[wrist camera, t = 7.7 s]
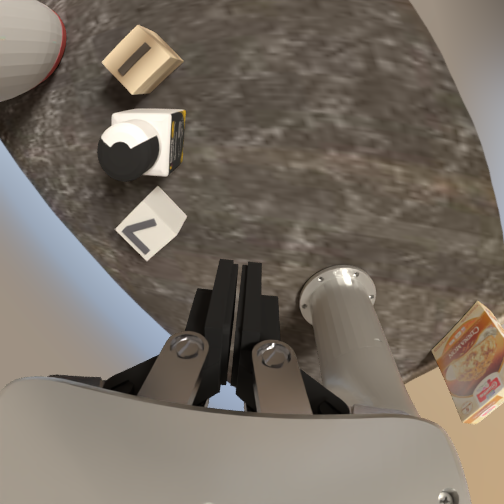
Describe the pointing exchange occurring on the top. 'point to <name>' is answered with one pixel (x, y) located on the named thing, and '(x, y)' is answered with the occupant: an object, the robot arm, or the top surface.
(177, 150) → the medicine bottle
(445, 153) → the top surface
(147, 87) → the maple block one
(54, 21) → the citrus juicer
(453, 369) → the coffeecake box
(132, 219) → the white marked cube
